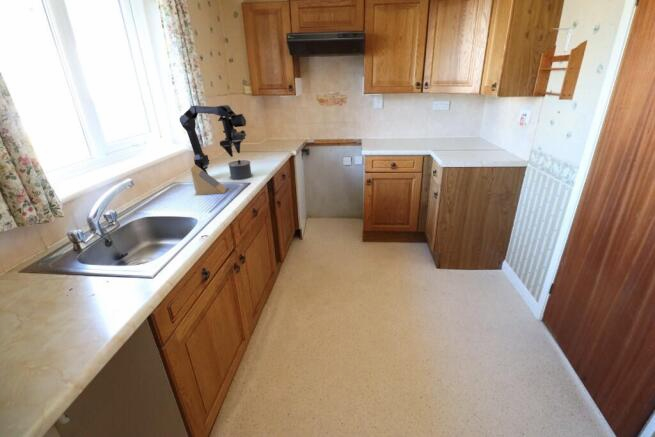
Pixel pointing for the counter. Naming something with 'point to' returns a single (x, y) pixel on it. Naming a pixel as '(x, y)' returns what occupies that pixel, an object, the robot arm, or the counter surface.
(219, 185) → the sandwich container
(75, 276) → the counter surface
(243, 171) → the stockpot
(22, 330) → the counter surface
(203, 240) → the counter surface
